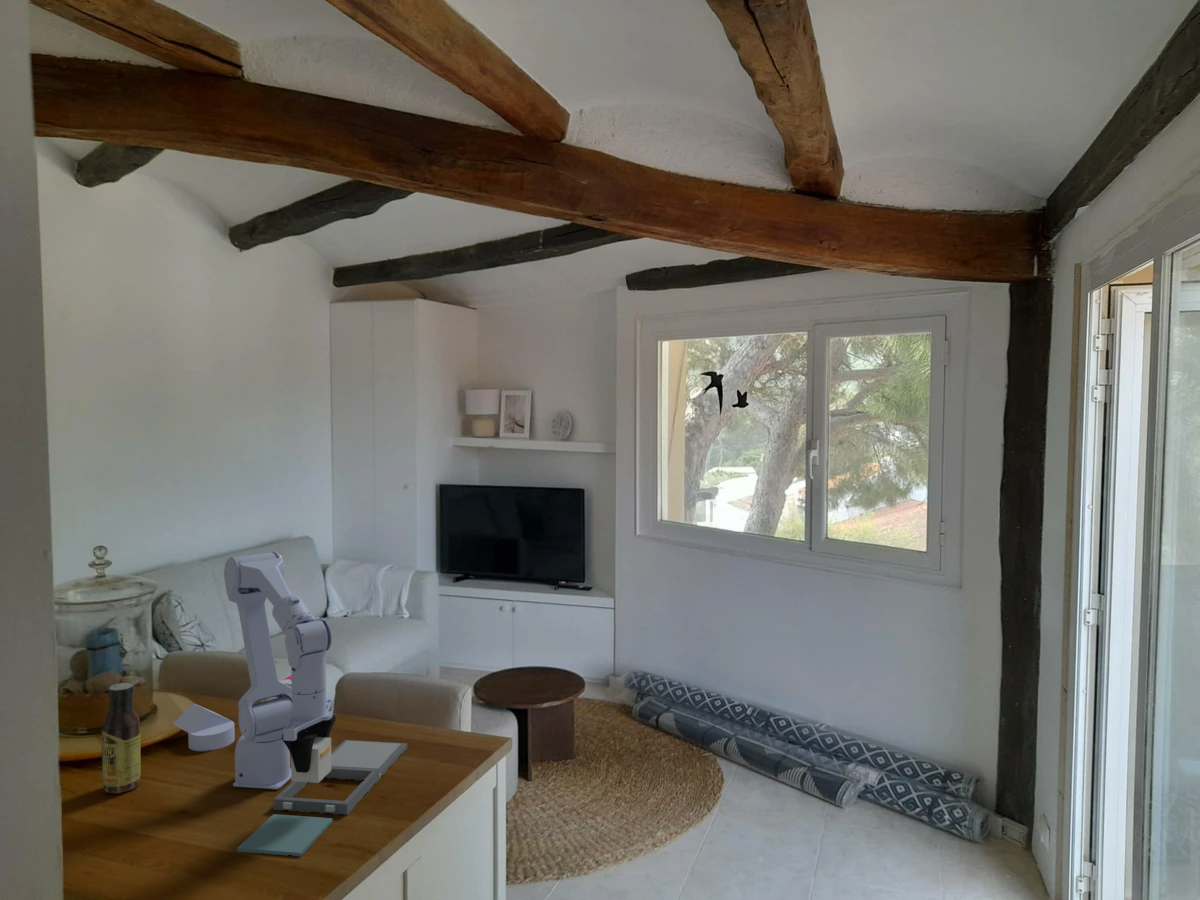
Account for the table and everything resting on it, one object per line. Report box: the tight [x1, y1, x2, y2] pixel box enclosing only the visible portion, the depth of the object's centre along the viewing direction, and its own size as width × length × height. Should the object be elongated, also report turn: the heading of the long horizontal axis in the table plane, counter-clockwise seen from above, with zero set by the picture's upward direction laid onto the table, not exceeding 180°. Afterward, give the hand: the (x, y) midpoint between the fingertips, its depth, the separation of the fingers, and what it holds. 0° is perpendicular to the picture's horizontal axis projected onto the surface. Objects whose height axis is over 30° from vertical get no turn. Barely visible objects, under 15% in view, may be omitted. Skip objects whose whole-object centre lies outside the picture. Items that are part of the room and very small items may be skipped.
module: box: [290, 737, 332, 784], centre depth 141 cm, size 5×5×6 cm
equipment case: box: [272, 739, 408, 816], centre depth 155 cm, size 14×29×2 cm, turn 172°
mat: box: [236, 813, 334, 857], centre depth 133 cm, size 11×11×1 cm
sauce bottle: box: [101, 682, 142, 795], centre depth 150 cm, size 7×6×20 cm
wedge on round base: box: [172, 703, 236, 752], centre depth 173 cm, size 9×7×13 cm
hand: (310, 764), depth 141 cm, fingers closed on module, 5 cm apart
